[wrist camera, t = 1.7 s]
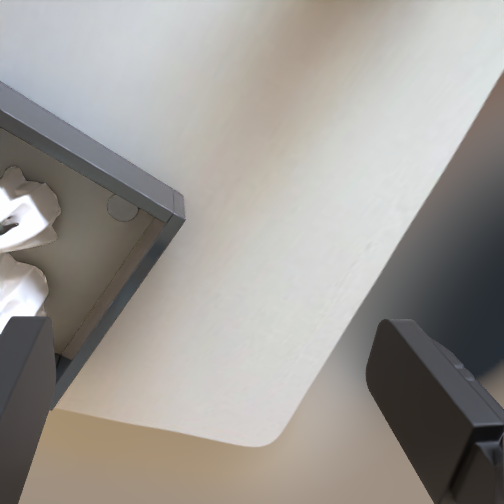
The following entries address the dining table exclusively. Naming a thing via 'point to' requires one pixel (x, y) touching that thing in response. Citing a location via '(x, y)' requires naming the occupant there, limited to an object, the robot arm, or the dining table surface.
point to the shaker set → (23, 243)
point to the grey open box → (119, 207)
